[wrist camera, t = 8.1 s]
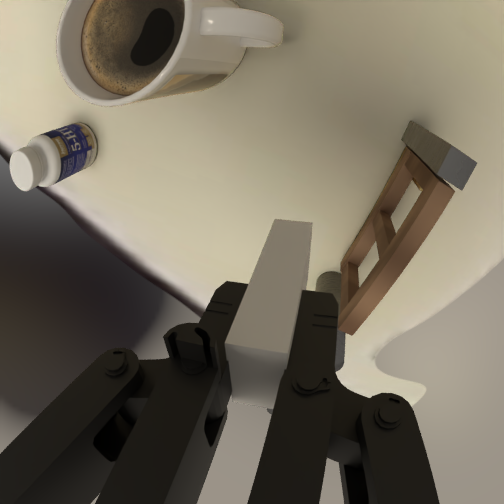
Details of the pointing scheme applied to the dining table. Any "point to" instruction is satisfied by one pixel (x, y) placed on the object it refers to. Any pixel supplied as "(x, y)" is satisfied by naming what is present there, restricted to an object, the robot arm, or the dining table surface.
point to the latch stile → (439, 156)
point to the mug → (155, 46)
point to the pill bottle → (53, 156)
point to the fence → (332, 284)
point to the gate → (390, 239)
